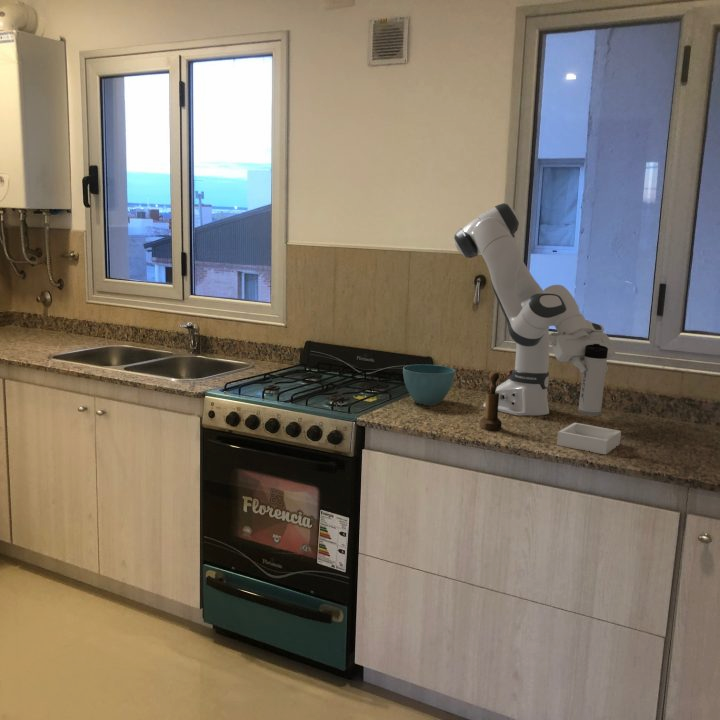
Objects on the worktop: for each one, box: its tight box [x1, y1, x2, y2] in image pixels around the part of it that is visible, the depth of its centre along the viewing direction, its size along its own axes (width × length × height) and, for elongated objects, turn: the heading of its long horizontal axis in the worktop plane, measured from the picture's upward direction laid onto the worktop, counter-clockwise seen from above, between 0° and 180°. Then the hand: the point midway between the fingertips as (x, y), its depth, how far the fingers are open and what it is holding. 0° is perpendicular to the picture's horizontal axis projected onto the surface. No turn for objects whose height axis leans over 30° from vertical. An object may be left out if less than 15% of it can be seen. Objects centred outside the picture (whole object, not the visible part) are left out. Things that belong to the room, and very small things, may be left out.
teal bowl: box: [402, 364, 456, 406], centre depth 261 cm, size 18×18×12 cm
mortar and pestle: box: [479, 370, 502, 431], centre depth 229 cm, size 7×6×18 cm
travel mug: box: [577, 344, 608, 417], centre depth 213 cm, size 6×7×20 cm
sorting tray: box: [556, 422, 622, 456], centre depth 216 cm, size 14×14×4 cm
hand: (595, 371), depth 212 cm, fingers closed on travel mug, 6 cm apart
